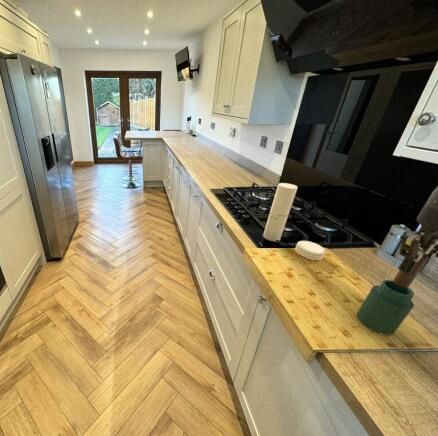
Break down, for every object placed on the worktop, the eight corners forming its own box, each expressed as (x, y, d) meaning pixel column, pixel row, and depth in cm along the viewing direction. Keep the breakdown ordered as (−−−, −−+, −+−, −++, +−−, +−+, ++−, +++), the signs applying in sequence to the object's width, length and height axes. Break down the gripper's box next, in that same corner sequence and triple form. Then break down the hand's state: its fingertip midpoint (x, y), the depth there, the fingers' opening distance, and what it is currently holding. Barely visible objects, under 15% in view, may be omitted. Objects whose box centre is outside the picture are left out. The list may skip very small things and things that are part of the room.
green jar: (384, 315, 69) (407, 281, 63) (401, 339, 62) (429, 303, 56) (351, 308, 71) (371, 274, 66) (364, 329, 64) (387, 294, 59)
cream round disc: (328, 261, 93) (331, 254, 91) (303, 260, 93) (306, 253, 91) (312, 247, 102) (315, 240, 100) (290, 246, 102) (292, 239, 100)
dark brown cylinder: (404, 281, 61) (423, 252, 57) (411, 288, 59) (432, 259, 55) (390, 278, 62) (408, 249, 58) (397, 285, 59) (416, 256, 56)
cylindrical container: (281, 242, 105) (299, 189, 94) (263, 239, 107) (279, 186, 96) (278, 235, 111) (295, 184, 100) (262, 232, 113) (277, 182, 102)
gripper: (450, 216, 46) (404, 284, 54) (499, 213, 49) (449, 277, 57) (406, 202, 53) (371, 264, 61) (452, 199, 56) (412, 259, 63)
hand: (409, 270), depth 59 cm, fingers closed on dark brown cylinder, 3 cm apart
